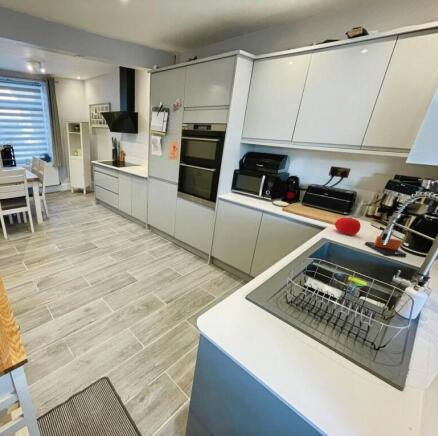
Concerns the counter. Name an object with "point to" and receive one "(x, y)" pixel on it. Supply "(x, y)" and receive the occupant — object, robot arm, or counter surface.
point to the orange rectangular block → (390, 245)
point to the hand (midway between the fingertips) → (430, 212)
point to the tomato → (348, 225)
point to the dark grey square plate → (386, 250)
